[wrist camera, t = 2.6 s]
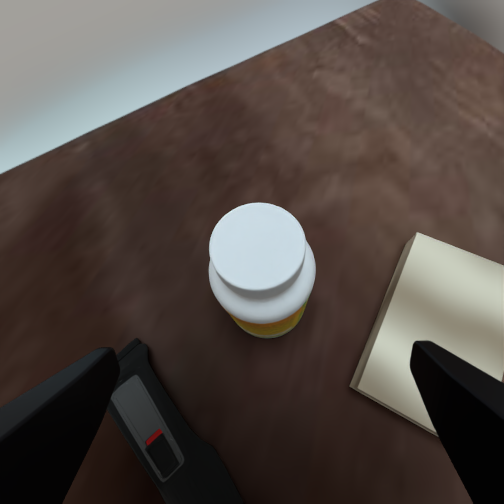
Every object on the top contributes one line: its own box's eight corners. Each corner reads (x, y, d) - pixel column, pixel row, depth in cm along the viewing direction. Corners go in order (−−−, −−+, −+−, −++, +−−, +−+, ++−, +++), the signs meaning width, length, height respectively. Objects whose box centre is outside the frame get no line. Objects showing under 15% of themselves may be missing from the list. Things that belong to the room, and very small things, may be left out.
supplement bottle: (310, 335, 19) (338, 301, 10) (232, 343, 19) (191, 316, 10) (298, 261, 21) (312, 180, 12) (228, 269, 21) (192, 195, 12)
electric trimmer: (241, 621, 14) (232, 686, 11) (99, 371, 19) (68, 372, 17) (294, 558, 15) (299, 604, 12) (143, 334, 20) (121, 328, 17)
